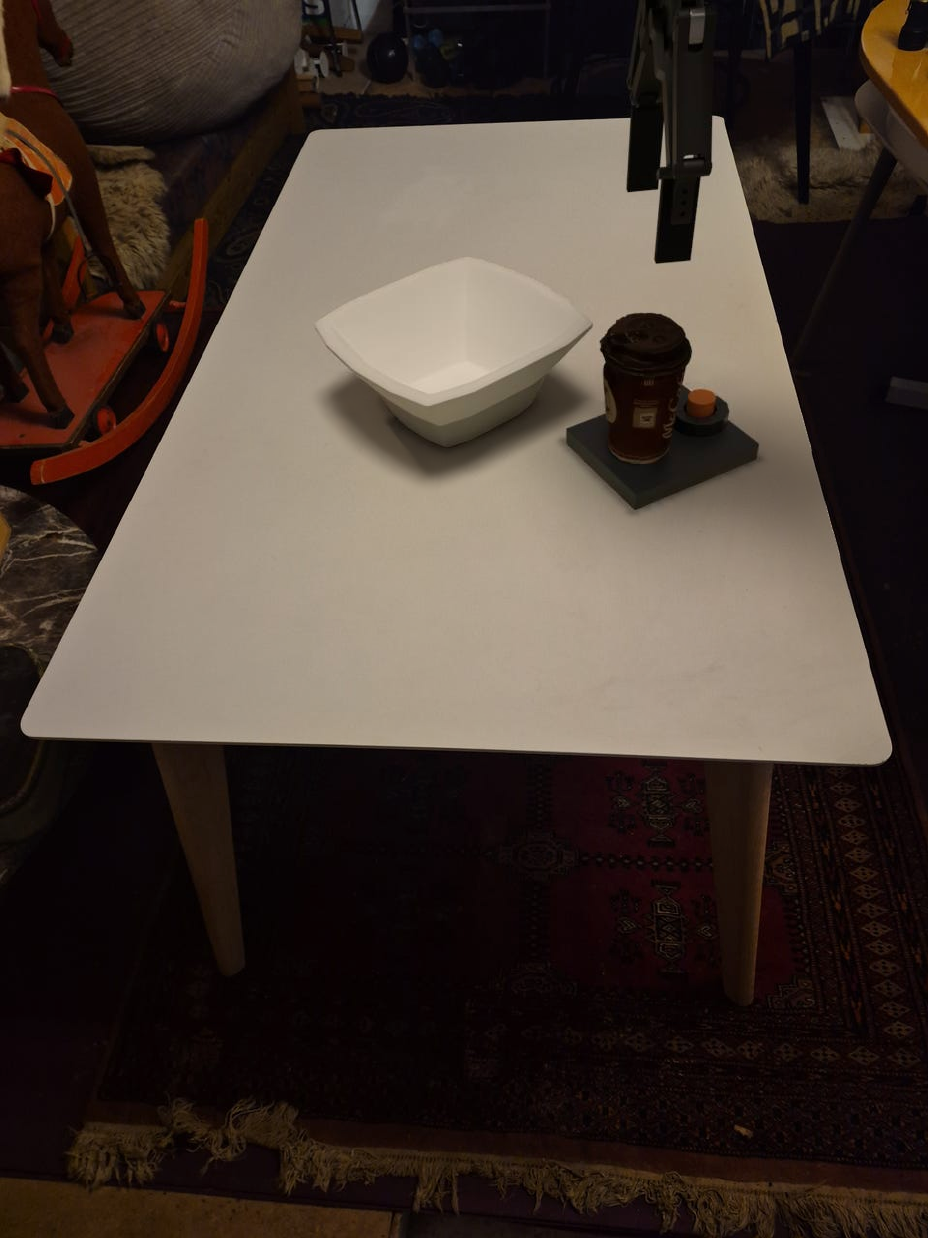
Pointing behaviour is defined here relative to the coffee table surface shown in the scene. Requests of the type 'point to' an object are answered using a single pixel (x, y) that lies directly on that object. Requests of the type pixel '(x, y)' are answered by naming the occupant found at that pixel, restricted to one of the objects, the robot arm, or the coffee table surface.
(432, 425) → the bowl
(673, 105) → the robot arm
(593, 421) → the scale
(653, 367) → the coffee cup
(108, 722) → the coffee table surface
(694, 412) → the button
